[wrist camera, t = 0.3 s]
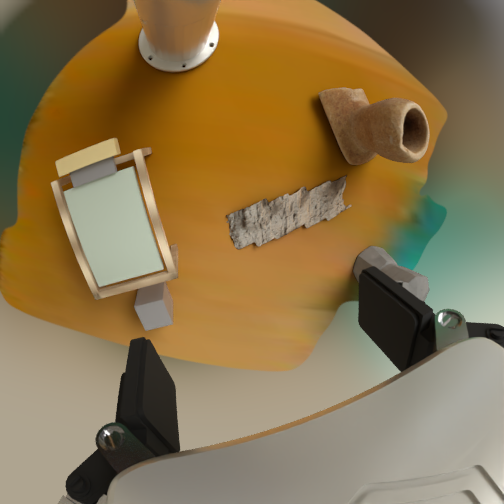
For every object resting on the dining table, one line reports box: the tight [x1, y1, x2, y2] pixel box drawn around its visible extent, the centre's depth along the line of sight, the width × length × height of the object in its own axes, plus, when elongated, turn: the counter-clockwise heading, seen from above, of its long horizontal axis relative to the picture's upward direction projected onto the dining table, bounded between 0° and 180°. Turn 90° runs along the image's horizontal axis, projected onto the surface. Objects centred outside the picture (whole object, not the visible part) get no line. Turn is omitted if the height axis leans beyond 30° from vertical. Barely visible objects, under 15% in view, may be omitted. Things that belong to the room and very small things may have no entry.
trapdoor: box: [55, 138, 164, 287], centre depth 31 cm, size 18×10×3 cm, turn 10°
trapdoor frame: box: [51, 147, 178, 300], centre depth 37 cm, size 18×13×10 cm
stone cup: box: [319, 88, 429, 165], centre depth 38 cm, size 15×12×15 cm
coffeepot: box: [353, 246, 429, 303], centre depth 50 cm, size 15×9×18 cm, turn 54°
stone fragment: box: [227, 175, 351, 249], centre depth 48 cm, size 25×3×10 cm
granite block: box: [134, 281, 173, 331], centre depth 45 cm, size 5×5×7 cm
